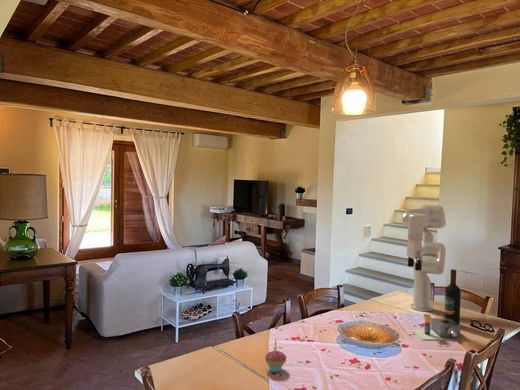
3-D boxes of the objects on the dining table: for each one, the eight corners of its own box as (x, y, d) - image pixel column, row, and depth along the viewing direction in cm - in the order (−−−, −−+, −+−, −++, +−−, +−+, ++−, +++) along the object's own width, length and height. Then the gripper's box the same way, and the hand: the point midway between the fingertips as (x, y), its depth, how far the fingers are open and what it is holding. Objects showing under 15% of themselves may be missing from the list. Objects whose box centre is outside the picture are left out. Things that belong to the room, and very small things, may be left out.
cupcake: (264, 364, 158) (264, 335, 158) (284, 364, 159) (284, 335, 159) (266, 374, 150) (266, 344, 150) (287, 374, 151) (288, 344, 150)
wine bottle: (461, 327, 205) (463, 271, 204) (446, 326, 206) (448, 271, 205) (457, 322, 212) (458, 268, 211) (442, 321, 214) (444, 268, 213)
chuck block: (431, 329, 201) (431, 318, 201) (449, 329, 201) (450, 318, 201) (444, 341, 186) (445, 328, 186) (465, 341, 186) (465, 329, 186)
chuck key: (425, 336, 190) (426, 318, 190) (423, 331, 197) (423, 313, 197) (431, 337, 189) (432, 319, 189) (429, 331, 196) (429, 314, 196)
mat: (412, 330, 199) (412, 329, 199) (431, 330, 199) (431, 329, 199) (422, 340, 187) (422, 338, 187) (442, 340, 187) (443, 339, 187)
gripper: (402, 234, 217) (401, 264, 218) (415, 239, 200) (414, 271, 201) (415, 235, 217) (414, 265, 218) (429, 239, 200) (428, 272, 201)
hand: (414, 268), depth 209 cm, fingers open, 9 cm apart
